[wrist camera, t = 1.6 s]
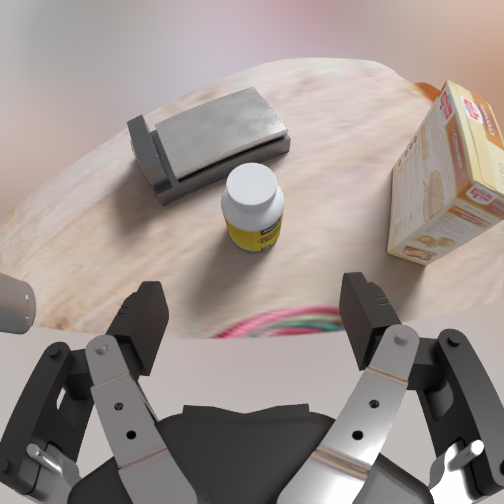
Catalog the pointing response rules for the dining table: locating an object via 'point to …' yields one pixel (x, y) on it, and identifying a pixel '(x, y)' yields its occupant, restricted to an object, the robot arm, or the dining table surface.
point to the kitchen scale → (172, 189)
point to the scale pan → (218, 130)
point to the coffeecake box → (447, 179)
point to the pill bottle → (253, 207)
